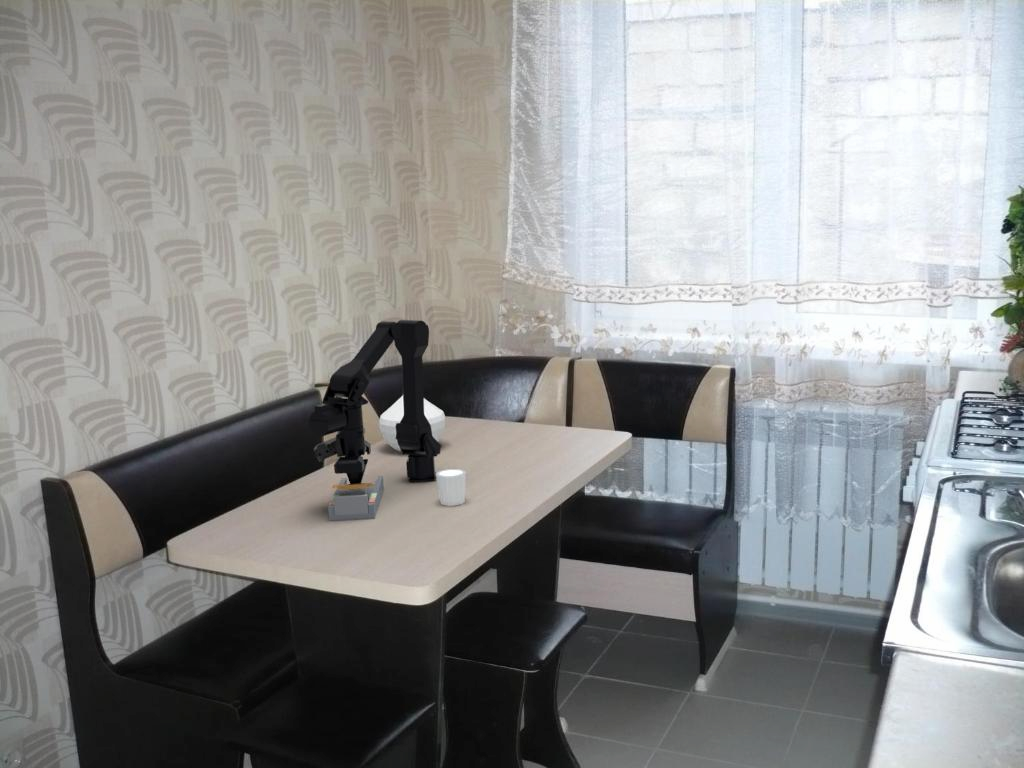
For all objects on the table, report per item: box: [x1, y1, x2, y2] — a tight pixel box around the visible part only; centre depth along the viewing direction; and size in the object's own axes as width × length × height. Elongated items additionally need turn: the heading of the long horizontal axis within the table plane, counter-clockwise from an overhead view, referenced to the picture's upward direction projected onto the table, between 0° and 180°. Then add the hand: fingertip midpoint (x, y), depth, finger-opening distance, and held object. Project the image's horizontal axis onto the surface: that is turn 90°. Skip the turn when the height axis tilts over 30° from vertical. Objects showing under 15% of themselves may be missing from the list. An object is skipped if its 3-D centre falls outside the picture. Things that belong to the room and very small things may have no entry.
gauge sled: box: [331, 482, 375, 503], centre depth 238 cm, size 9×5×5 cm, turn 92°
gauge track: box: [327, 475, 385, 522], centre depth 244 cm, size 10×23×5 cm, turn 2°
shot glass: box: [436, 468, 467, 507], centre depth 242 cm, size 7×7×7 cm
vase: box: [378, 394, 447, 453], centre depth 292 cm, size 18×18×19 cm
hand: (355, 493), depth 243 cm, fingers closed
